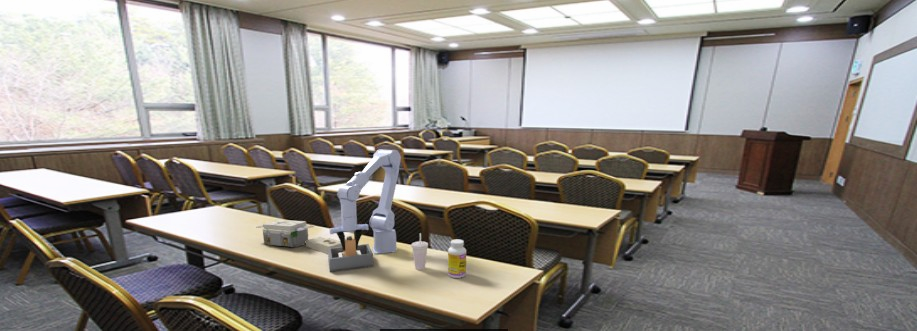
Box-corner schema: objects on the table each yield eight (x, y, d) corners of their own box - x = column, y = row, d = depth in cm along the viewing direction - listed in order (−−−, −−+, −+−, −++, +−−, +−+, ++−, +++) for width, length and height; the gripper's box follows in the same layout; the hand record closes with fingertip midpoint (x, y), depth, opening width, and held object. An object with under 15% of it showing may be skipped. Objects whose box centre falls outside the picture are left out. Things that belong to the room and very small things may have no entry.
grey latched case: (299, 250, 162) (297, 227, 161) (253, 245, 174) (251, 224, 173) (319, 242, 172) (317, 221, 172) (275, 238, 184) (273, 218, 183)
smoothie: (415, 272, 140) (414, 236, 139) (409, 266, 146) (408, 231, 144) (431, 269, 143) (430, 233, 142) (424, 264, 149) (424, 229, 147)
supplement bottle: (459, 280, 134) (460, 245, 132) (444, 276, 137) (444, 242, 136) (469, 273, 140) (469, 240, 138) (454, 270, 143) (454, 237, 142)
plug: (356, 254, 148) (355, 237, 148) (345, 256, 147) (345, 238, 146) (353, 252, 152) (353, 235, 151) (343, 253, 150) (343, 236, 149)
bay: (368, 255, 158) (368, 243, 158) (373, 266, 146) (373, 254, 146) (328, 260, 152) (327, 248, 152) (329, 272, 140) (329, 259, 140)
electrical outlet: (319, 234, 174) (344, 242, 164) (320, 243, 175) (344, 251, 164) (305, 238, 169) (329, 246, 158) (306, 247, 169) (330, 255, 158)
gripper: (365, 211, 154) (365, 243, 155) (328, 215, 147) (329, 249, 149) (369, 215, 148) (370, 249, 149) (330, 219, 141) (331, 254, 143)
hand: (349, 249), depth 149 cm, fingers closed on plug, 4 cm apart
